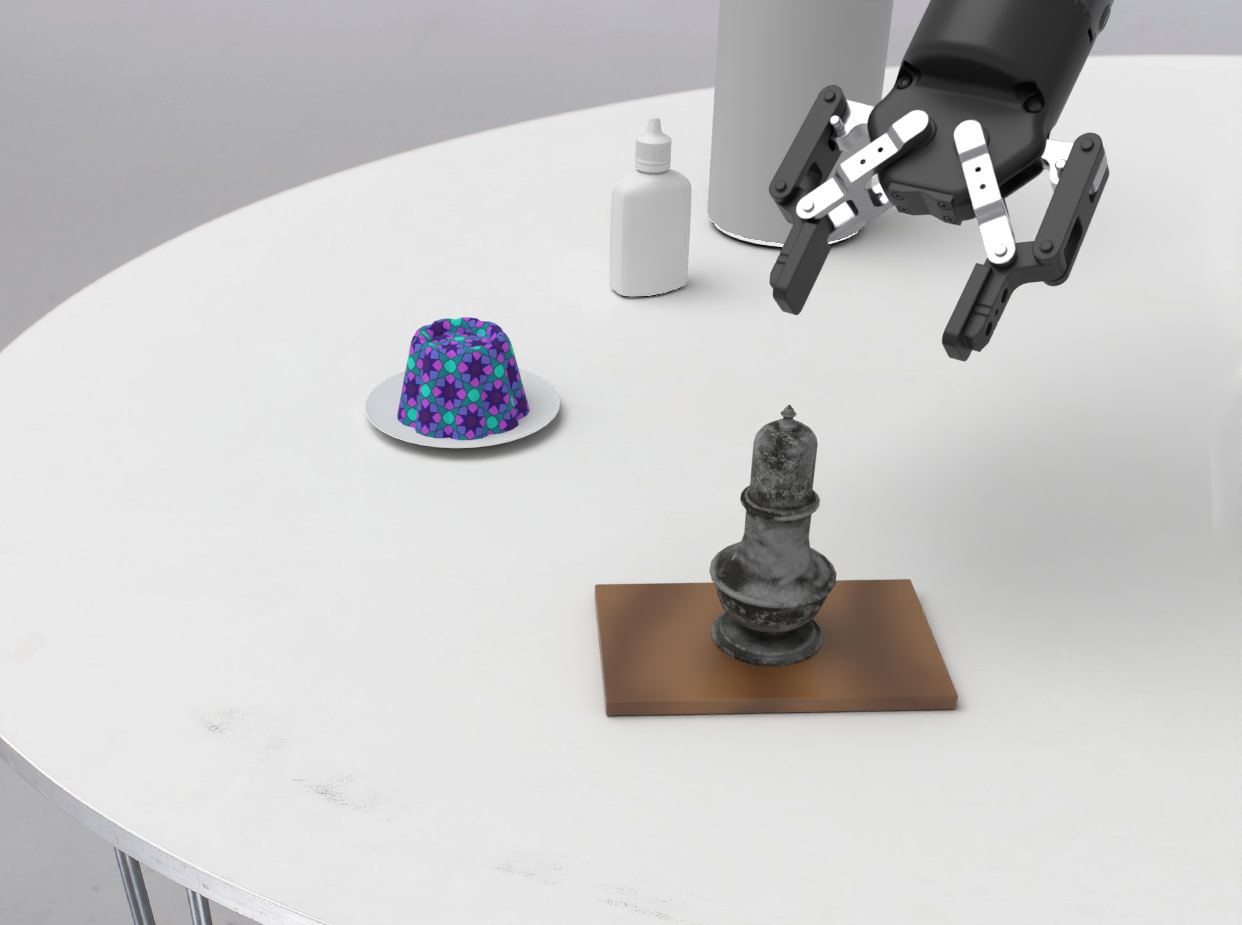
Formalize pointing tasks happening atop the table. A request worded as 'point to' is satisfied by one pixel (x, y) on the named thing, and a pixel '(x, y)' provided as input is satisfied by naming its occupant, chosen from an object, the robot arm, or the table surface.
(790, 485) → the salt shaker
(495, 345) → the pudding
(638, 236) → the eye dropper bottle
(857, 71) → the cylinder vase
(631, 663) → the wooden board
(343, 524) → the table surface
